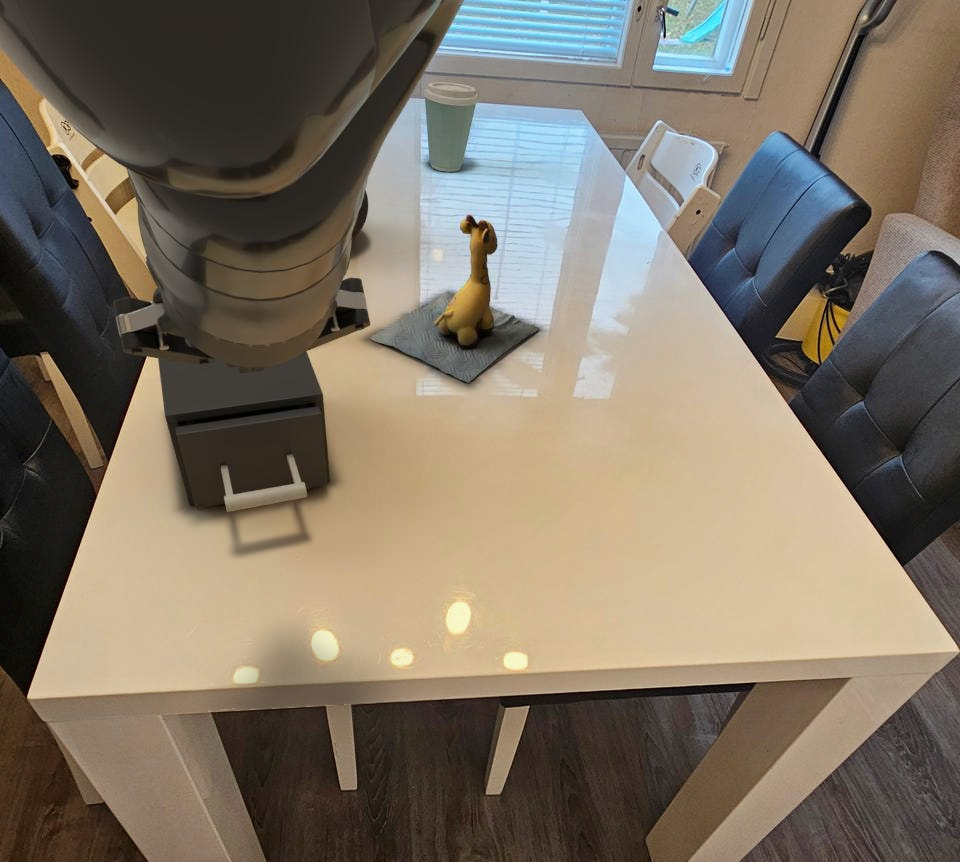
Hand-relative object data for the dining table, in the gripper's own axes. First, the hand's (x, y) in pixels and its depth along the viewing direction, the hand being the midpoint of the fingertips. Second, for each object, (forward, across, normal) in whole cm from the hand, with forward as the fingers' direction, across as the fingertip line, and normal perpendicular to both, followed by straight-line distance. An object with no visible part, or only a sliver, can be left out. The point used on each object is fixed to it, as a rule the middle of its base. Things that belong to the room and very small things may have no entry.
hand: (248, 356), depth 45 cm
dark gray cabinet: (+33, 0, +1) cm, 33 cm away
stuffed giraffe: (+45, -30, -10) cm, 55 cm away
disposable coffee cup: (+91, -51, -56) cm, 118 cm away
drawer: (+29, 0, +4) cm, 29 cm away
